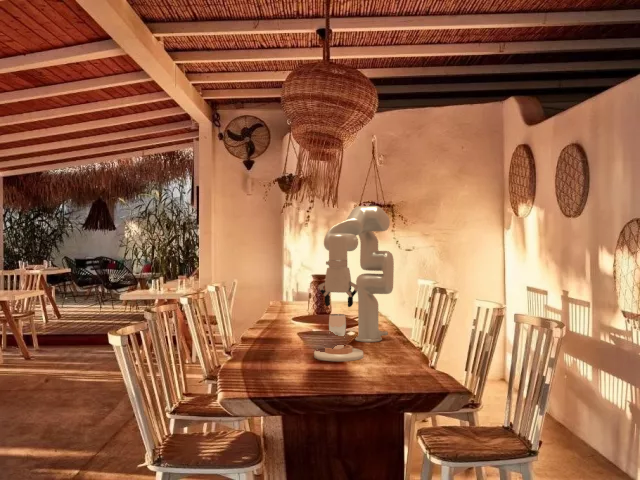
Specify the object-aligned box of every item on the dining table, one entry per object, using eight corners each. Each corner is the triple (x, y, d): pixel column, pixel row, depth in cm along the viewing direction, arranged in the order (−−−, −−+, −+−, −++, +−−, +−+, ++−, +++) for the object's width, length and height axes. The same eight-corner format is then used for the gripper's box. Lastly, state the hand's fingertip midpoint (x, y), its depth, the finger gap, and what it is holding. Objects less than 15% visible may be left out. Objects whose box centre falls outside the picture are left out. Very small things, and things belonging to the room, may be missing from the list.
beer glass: (341, 353, 242) (341, 316, 242) (326, 352, 245) (326, 315, 245) (348, 350, 248) (348, 314, 248) (333, 349, 251) (333, 313, 252)
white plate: (349, 350, 260) (349, 341, 260) (371, 358, 241) (371, 348, 241) (306, 354, 252) (306, 344, 252) (326, 363, 233) (326, 352, 233)
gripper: (315, 264, 246) (315, 306, 247) (355, 265, 240) (355, 308, 240) (322, 263, 253) (322, 304, 254) (361, 264, 247) (361, 305, 247)
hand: (338, 306), depth 247 cm, fingers open, 9 cm apart
